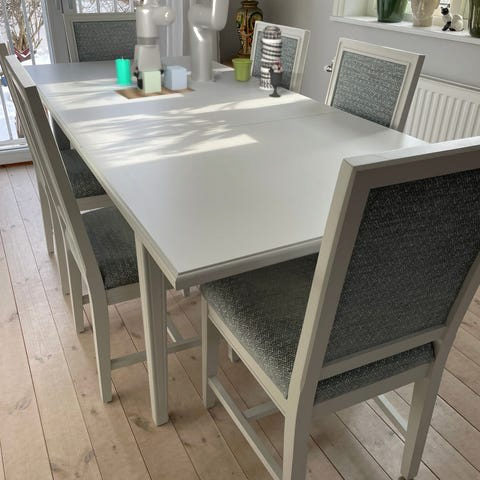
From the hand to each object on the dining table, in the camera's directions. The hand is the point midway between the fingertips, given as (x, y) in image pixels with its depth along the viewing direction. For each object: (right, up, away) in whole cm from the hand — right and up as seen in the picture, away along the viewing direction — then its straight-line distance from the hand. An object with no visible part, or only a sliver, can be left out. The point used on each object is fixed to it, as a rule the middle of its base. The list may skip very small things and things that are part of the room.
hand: (149, 87), depth 208 cm
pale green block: (0, -1, +1) cm, 1 cm away
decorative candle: (+50, +4, +16) cm, 52 cm away
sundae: (+51, -3, +4) cm, 52 cm away
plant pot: (+38, +11, +28) cm, 48 cm away
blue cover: (+10, +2, +7) cm, 12 cm away
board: (+2, -2, +1) cm, 3 cm away
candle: (-12, +4, +11) cm, 17 cm away
